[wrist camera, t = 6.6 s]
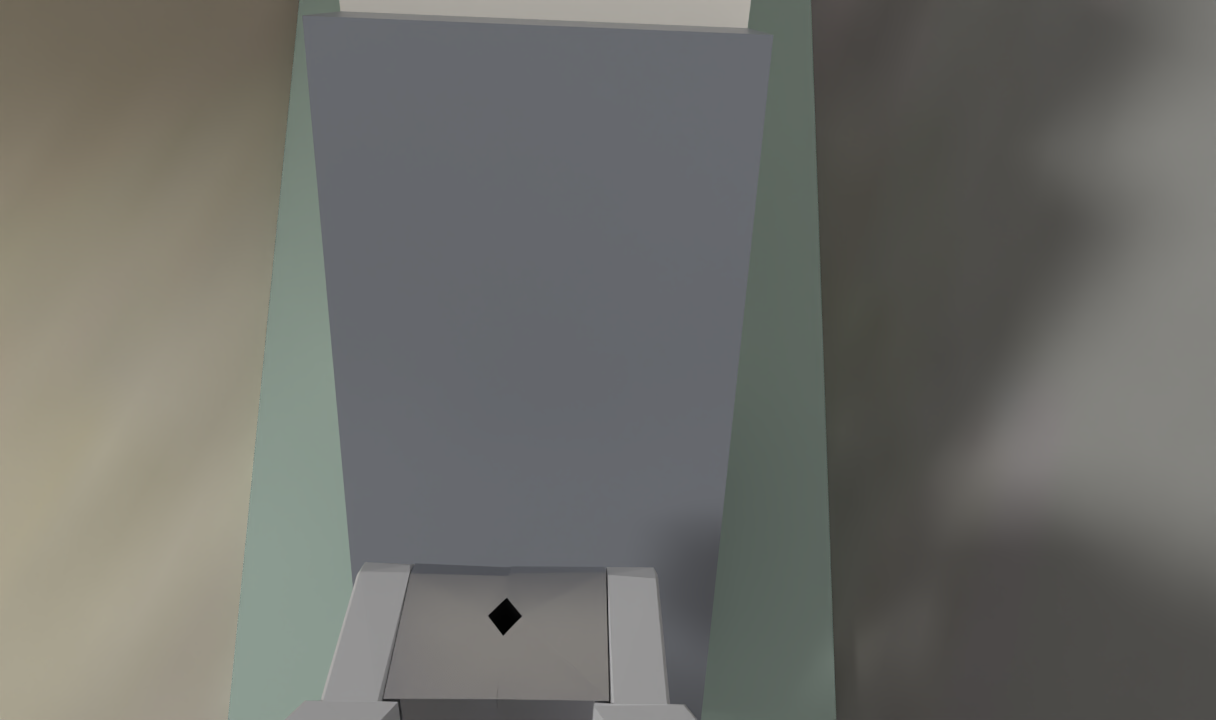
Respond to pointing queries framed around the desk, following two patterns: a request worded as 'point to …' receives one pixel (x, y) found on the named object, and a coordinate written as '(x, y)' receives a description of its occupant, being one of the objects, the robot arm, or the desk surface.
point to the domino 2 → (539, 291)
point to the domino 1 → (573, 10)
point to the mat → (757, 466)
